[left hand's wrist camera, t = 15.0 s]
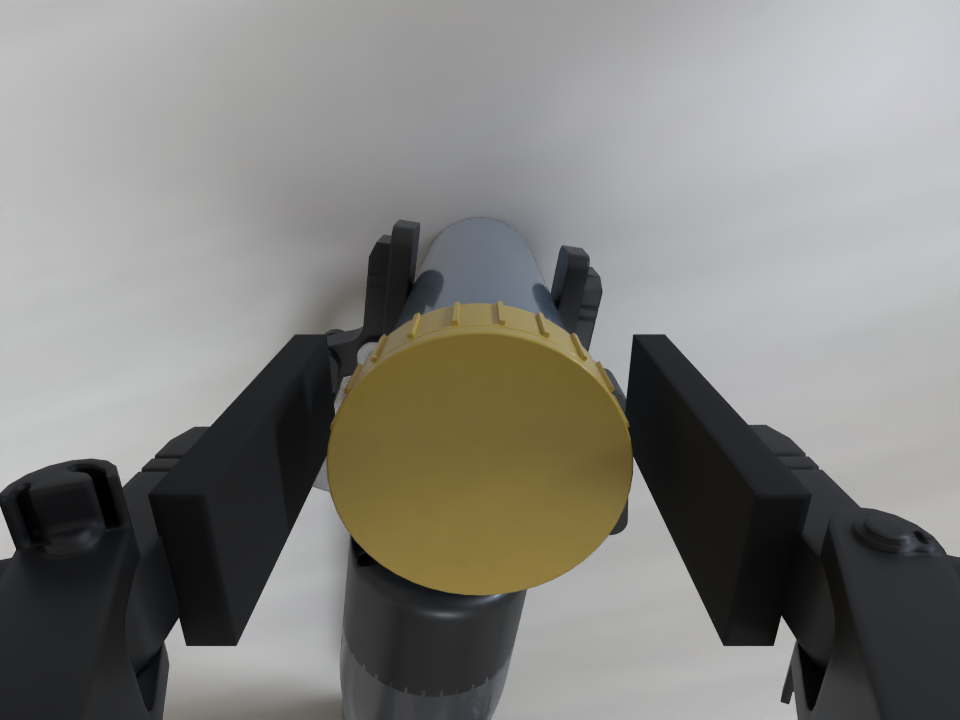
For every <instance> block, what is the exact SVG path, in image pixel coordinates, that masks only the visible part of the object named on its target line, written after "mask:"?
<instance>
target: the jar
mask: <svg viewBox="0 0 960 720" xmlns="http://www.w3.org/2000/svg"><path fill="white" fill-rule="evenodd" d="M458 301H460V304H472V303H486V304H497V301H502V302H503V305H505V306H511V307H516V308H519V309H522V310H525V311H529V312H532V313H534V314H536V315H537V313H538V312H541V313H543V315H544V317H545V319H547V320H550V321H551V322H553V323H554V324H556V325H557V326H559V327H561V328H562V329H564V330H565V331H566V329H565V326H564V324H563V322H562V320H561V317H560V315H559V313H558V310H557V308H556V306H555V304H554V301H553V299H552V297H551V295H550V292H549V290H548V288H547V286H546V283H545V281H544V279H543V276H542V274H541V272H540V270H539V267H538V265H537V263H536V261H535V258H534V256H533V254H532V251H531V249H530V247H529V246H528V244H527V242H526V241H525V240H524V238H523V237H522V236H521V235H520V234H519V233H518V232H517V231H516V230H515V229H513V228H512V227H511V226H509V225H507V224H505V223H503V222H501V221H498V220H495V219H491V218H483V217H481V218H469V219H465V220H462V221H459V222H457V223H454V224H453V225H451V226H449V227H448V228H446V229H445V230H444V231H443V232H442V233H441V234H440V235H439V236H438V237H437V238H436V239H435V241H434V242H433V243H432V245H431V247H430V249H429V251H428V253H427V256H426V258H425V260H424V262H423V265H422V267H421V269H420V271H419V274H418V276H417V278H416V280H415V283H414V285H413V287H412V289H411V292H410V294H409V296H408V299H407V301H406V303H405V305H404V308H403V310H402V312H401V314H400V317H399V319H398V321H397V323H396V326H395V328H394V330H393V331H395V330H396V329H398V328H399V327H401V326H402V325H404V324H405V323H407V322H409V321H411V320H413V317H414V315H415V314H417V313H420V315H423V314H426V313H428V312H431V311H434V310H437V309H440V308H445V307H449V306H454V302H458ZM566 332H567V331H566Z"/></svg>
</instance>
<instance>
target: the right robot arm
mask: <svg viewBox="0 0 960 720" xmlns="http://www.w3.org/2000/svg"><path fill="white" fill-rule="evenodd" d="M419 233H420V223H418V222H412V221H405V220H399V221H398V222H397V223H396V224H395V225H394V227H393V231H392V236H388V235H383V236H382V237H381V238H380V239H379V240H378V241H377V242H376V244H375V246H374V248H373V250H372V252H371V254H370V256H369V264H368V277H367V289H366V302H365V314H364V326H363V327H361V328H359V329H356V330H351V331H346V332H345V331H342V330H339V329H333V330H330V331H328V332H326V333H325V334H324V335H327V342H328V352H329V361H330V371H331V380H332V390H333V400H334V403H335V400H336V397H337V394H338V391H339V388H340V385H341V382H342V379H343V377H345V376H351V375H353V373H354V371H355V369H356V367H357V366H358V364H359V363H360V364H362V365H363V364H364V362H365V361H366V359H367V358H368V356H369V355H370V354H371V353H372V352H373V350H374V349H375V348H376V346H377V344H378V342H379V340H380V338H381V336H383V335H384V334H385V335H386V336H388V335H389V334H391V333H392V332H393V330H394V328H395V326H396V323H397V321H398V319H399V317H400V314H401V312H402V310H403V308H404V305H405V303H406V301H407V299H408V296H409V294H410V292H411V289H412V287H413V285H414V278H415V269H416V260H417V251H418V242H419ZM589 262H590V260H589V255H588V254H587V253H586V252H585V251H584V250H583V249H582V248H576V247H570V246H563V245H562V246H561V249H560V252H559V256H558V260H557V265H556V270H555V275H554V280H553V285H552V290H551V297H552V299H553V301H554V304H555V306H556V308H557V310H558V313H559V315H560V317H561V320H562V322H563V324H564V326H565V329H566V331H567V332H568V333H569V334H570V335H571V334H572V333H575V334H576V335H577V336H578V338H579V340H580V342H581V345H582V346H583V347H584V348H585V350H586V351H587V352H588V351H589V346H590V342H591V338H592V334H593V330H594V325H595V320H596V317H597V313H598V308H599V304H600V300H601V296H602V286H601V280H600V276H599V275H598V274H597V272H596V271H595V270H594V269H593V268H592V267H589ZM604 370H605V372H606V374H607V376H608V378H609V379H610V381H611V383H612V385H613V387H614V389H615V391H613V392H611V393H612V395H615V397H616V399H617V401H618V403H619V405H620V407H621V409H622V411H623V413H624V415H625V409H626V397H625V395H624V394H623V392H622V390H621V388H620V386H619V384H618V383H617V381H616V379H615V377H614V376H613V374H612V373H611V372H610V371H609V370H608V369H605V368H604ZM326 459H327V456H326ZM326 459H325V461H324V463H323V465H322V467H321V469H320V471H319V473H318V475H317V477H316V480H315V482H314V484H313V486H312V487H315V488H318V489H322V490H325V491H328V492H330V488H329V484H328V479H327V464H326ZM627 522H628V498H627V501H626V504H625V507H624V509H623V511H622V513H621V515H620V518H619V520H618V522H617V523H616V525H615V526H614V528H613V529H612V531H611V532H610V534H609V535H614V534H618V533H620V532H621V531H623V530H624V529H625V527H626V525H627ZM526 591H527V589H525V590H521V591H517V592H511V593H505V594H496V595H462V594H455V593H448V592H443V591H439V590H435V589H431V588H428V587H425V586H422V585H419V584H417V583H414V582H411V581H409V580H407V579H405V578H403V577H401V576H399V575H397V574H395V573H394V572H392V571H391V570H389V569H387V568H386V567H384V566H383V565H381V564H380V563H379V562H377V561H376V560H375V559H374V558H373V557H371V556H370V555H369V554H368V553H367V552H366V551H365V550H364V549H363V548H362V547H361V546H360V545H359V544H358V543H357V542H356V541H355V539H354V538H353V537H352V535H351V534H350V545H349V557H348V569H347V581H346V593H345V605H344V616H343V629H342V641H341V654H340V679H341V689H342V708H341V720H491V718H492V715H493V713H494V711H495V709H496V707H497V704H498V702H499V700H500V697H501V695H502V691H503V688H504V684H505V681H506V677H507V673H508V668H509V664H510V660H511V656H512V651H513V647H514V642H515V638H516V634H517V630H518V625H519V621H520V617H521V613H522V609H523V604H524V600H525V596H526Z"/></svg>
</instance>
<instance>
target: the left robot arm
mask: <svg viewBox="0 0 960 720" xmlns="http://www.w3.org/2000/svg"><path fill="white" fill-rule="evenodd" d="M625 416H626V418H627V420H628V422H629V426H630V427H628V431H629V434H630V438H631V444H632V451H633V457H634V459H635V461H636V463H637V465H638V467H639V469H640V471H641V473H642V475H643V478H644V480H645V482H646V484H647V486H648V488H649V490H650V492H651V494H652V496H653V499H654V501H655V503H656V505H657V507H658V509H659V511H660V513H661V515H662V517H663V520H664V522H665V524H666V526H667V528H668V530H669V532H670V534H671V536H672V538H673V541H674V543H675V545H676V547H677V549H678V551H679V553H680V555H681V557H682V559H683V562H684V564H685V566H686V568H687V570H688V572H689V574H690V576H691V578H692V580H693V583H694V585H695V587H696V589H697V591H698V593H699V595H700V597H701V599H702V601H703V604H704V606H705V608H706V610H707V612H708V614H709V616H710V618H711V620H712V622H713V625H714V627H715V629H716V631H717V633H718V635H719V637H720V639H721V641H722V643H723V646H774V642H775V638H776V634H777V630H778V627H779V623H780V619H781V615H782V617H783V618H784V620H785V622H786V623H787V625H788V626H789V628H790V629H791V631H792V633H793V634H794V636H795V637H796V643H795V646H794V650H793V654H792V657H791V661H790V665H789V668H788V672H787V676H786V679H785V683H784V687H783V691H782V697H781V702H783V703H786V704H789V703H790V699H791V695H792V692H793V691H794V693H795V701H796V709H797V717H798V720H960V557H954V556H950V555H947V554H946V552H945V550H944V549H943V547H942V546H941V545H940V544H939V543H938V541H937V540H936V539H935V538H934V537H933V536H932V535H931V534H929V533H928V532H926V531H925V530H923V529H922V528H920V527H919V526H917V525H916V524H914V523H912V522H909V521H907V520H905V519H903V518H901V517H898V516H896V515H893V514H890V513H886V512H883V511H879V510H876V509H869V508H861V507H859V506H858V505H857V504H856V503H855V502H854V501H853V500H852V499H851V498H850V497H849V496H848V495H847V494H846V493H845V492H844V491H843V490H842V489H841V488H840V487H839V486H838V485H837V484H836V483H835V482H834V481H833V480H832V479H831V478H830V477H829V476H828V475H827V474H826V473H825V472H824V471H823V470H819V466H818V465H817V464H816V463H815V462H814V461H813V460H812V459H811V458H810V457H806V455H805V453H804V452H803V451H802V450H801V449H800V448H799V447H798V446H797V445H796V444H795V443H794V442H793V441H792V440H791V439H790V438H789V437H787V436H785V435H783V434H781V433H780V432H778V431H776V430H774V429H772V428H770V427H769V426H767V425H748V424H747V423H746V422H745V421H744V420H743V419H742V418H741V417H740V416H739V415H738V413H737V412H736V411H735V410H734V409H733V408H732V407H731V406H730V405H729V404H728V403H727V402H726V400H725V399H724V398H723V397H722V396H721V395H720V394H719V393H718V392H717V391H716V390H715V389H714V387H713V386H712V385H711V384H710V383H709V382H708V381H707V380H706V379H705V378H704V377H703V376H702V374H701V373H700V372H699V371H698V370H697V369H696V368H695V367H694V366H693V365H692V364H691V363H690V361H689V360H688V359H687V358H686V357H685V356H684V355H683V354H682V353H681V352H680V351H679V349H678V348H677V347H676V346H675V345H674V344H673V343H672V342H671V341H670V340H669V339H668V338H667V336H666V335H633V342H632V352H631V361H630V371H629V380H628V390H627V399H626V409H625ZM334 417H335V409H334V400H333V390H332V380H331V371H330V361H329V352H328V342H327V335H294V336H293V338H292V339H291V340H290V341H289V342H288V343H287V344H286V345H285V346H284V347H283V348H282V349H281V351H280V352H279V353H278V354H277V355H276V356H275V357H274V358H273V359H272V360H271V361H270V362H269V364H268V365H267V366H266V367H265V368H264V369H263V370H262V371H261V372H260V373H259V374H258V376H257V377H256V378H255V379H254V380H253V381H252V382H251V383H250V384H249V385H248V386H247V387H246V389H245V390H244V391H243V392H242V393H241V394H240V395H239V396H238V397H237V398H236V399H235V400H234V402H233V403H232V404H231V405H230V406H229V407H228V408H227V409H226V410H225V411H224V412H223V413H222V415H221V416H220V417H219V418H218V419H217V420H216V421H215V422H214V423H213V424H212V425H211V426H210V427H193V428H192V429H190V430H188V431H186V432H184V433H183V434H181V435H179V436H177V437H175V438H173V439H172V440H170V441H169V442H168V443H167V444H166V445H165V446H164V447H163V448H162V449H161V450H160V451H159V452H158V453H157V454H156V455H155V459H151V460H150V461H149V462H148V463H147V464H146V465H145V466H144V467H143V468H142V472H138V473H137V474H136V475H135V476H134V477H133V478H132V479H131V480H130V481H129V482H128V483H127V484H126V485H125V486H124V487H123V488H122V485H121V482H120V478H119V474H118V471H117V467H116V466H115V465H113V464H112V463H110V462H109V461H106V460H98V459H82V460H71V461H67V462H63V463H59V464H55V465H51V466H47V467H45V468H42V469H40V470H37V471H35V472H32V473H29V474H27V475H25V476H23V477H22V478H20V479H18V480H17V481H15V482H13V483H11V484H10V485H8V486H7V487H6V488H5V489H4V490H3V491H2V492H1V493H0V507H1V510H2V512H3V515H4V518H5V520H6V523H7V526H8V528H9V531H10V534H11V537H12V539H13V542H14V545H15V547H16V551H15V553H14V555H13V557H12V558H9V559H4V560H0V720H162V719H163V711H164V703H165V695H166V687H167V679H168V671H169V660H168V654H167V650H166V646H165V643H164V641H165V639H166V637H167V636H168V634H169V633H170V631H171V629H172V628H173V626H174V625H175V623H176V621H177V620H178V618H179V619H180V623H181V627H182V631H183V634H184V638H185V642H186V646H236V645H237V643H238V641H239V639H240V637H241V635H242V633H243V631H244V629H245V627H246V624H247V622H248V620H249V618H250V616H251V614H252V612H253V610H254V608H255V606H256V603H257V601H258V599H259V597H260V595H261V593H262V591H263V589H264V587H265V585H266V582H267V580H268V578H269V576H270V574H271V572H272V570H273V568H274V566H275V564H276V561H277V559H278V557H279V555H280V553H281V551H282V549H283V547H284V545H285V543H286V540H287V538H288V536H289V534H290V532H291V530H292V528H293V526H294V524H295V522H296V519H297V517H298V515H299V513H300V511H301V509H302V507H303V505H304V503H305V501H306V498H307V496H308V494H309V492H310V490H311V488H312V486H313V484H314V482H315V480H316V477H317V475H318V473H319V471H320V469H321V467H322V465H323V463H324V461H325V459H326V456H327V448H328V441H329V437H330V433H331V429H330V425H331V423H332V421H333V419H334Z"/></svg>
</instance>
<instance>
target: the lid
mask: <svg viewBox="0 0 960 720" xmlns="http://www.w3.org/2000/svg"><path fill="white" fill-rule="evenodd" d="M613 391H615V389H614V387H613V385H612V383H611V381H610V379H609V378H608V376H607V374H606V372H605V370H604V368H603V366H602V364H601V363H600V361H599V362H597V363H595V361H594V360H593V358H592V357H591V355H590V354H589V353H588V352H587V351H586V350H585V348H584V347H583V346H582V345H581V342H580V340H579V338H578V336H577V335H576V334H575V333H572V334H571V335H570V334H569V333H568V332H566V331H565V330H564V329H562V328H561V327H559V326H557V325H556V324H554V323H553V322H551V321H550V320H547V319H545V317H544V315H543V313H541V312H538V313H537V315H536V314H534V313H532V312H529V311H525V310H522V309H519V308H516V307H511V306H505V305H503V302H502V301H497V304H486V303H472V304H460V301H458V302H454V306H449V307H445V308H440V309H437V310H434V311H431V312H428V313H426V314H423V315H420V313H417V314H415V315H414V317H413V320H411V321H409V322H407V323H405V324H404V325H402V326H401V327H399V328H398V329H396V330H395V331H393V332H392V333H391V334H389V335H388V336H386V335H385V334H384V335H383V336H381V338H380V340H379V342H378V344H377V346H376V348H375V349H374V350H373V352H372V353H371V354H370V355H369V356H368V358H367V359H366V361H365V362H364V364H363V365H362V364H360V363H359V364H358V366H357V367H356V369H355V371H354V373H353V375H352V377H351V379H350V381H349V382H348V384H347V386H346V388H345V390H344V393H346V394H347V396H346V397H345V398H344V400H343V402H342V403H341V405H340V407H339V409H338V411H337V413H336V415H335V417H334V419H333V421H332V423H331V425H330V429H331V433H330V437H329V441H328V448H327V459H326V464H327V479H328V484H329V488H330V493H331V497H332V499H333V502H334V505H335V507H336V510H337V513H338V514H339V516H340V518H341V520H342V522H343V524H344V525H345V527H346V529H347V530H348V531H349V533H350V534H351V535H352V537H353V538H354V539H355V541H356V542H357V543H358V544H359V545H360V546H361V547H362V548H363V549H364V550H365V551H366V552H367V553H368V554H369V555H370V556H371V557H373V558H374V559H375V560H376V561H377V562H379V563H380V564H381V565H383V566H384V567H386V568H387V569H389V570H391V571H392V572H394V573H395V574H397V575H399V576H401V577H403V578H405V579H407V580H409V581H411V582H414V583H417V584H419V585H422V586H425V587H428V588H431V589H435V590H439V591H443V592H448V593H455V594H462V595H496V594H505V593H511V592H517V591H521V590H525V589H528V588H532V587H535V586H538V585H541V584H543V583H546V582H548V581H551V580H553V579H555V578H557V577H559V576H560V575H562V574H564V573H566V572H568V571H569V570H571V569H572V568H574V567H575V566H577V565H578V564H580V563H581V562H583V561H584V560H585V559H586V558H587V557H588V556H589V555H591V554H592V553H593V552H594V551H595V550H596V549H597V548H598V547H599V546H600V545H601V543H602V542H603V541H604V540H605V539H606V538H607V537H608V535H609V534H610V532H611V531H612V529H613V528H614V526H615V525H616V523H617V522H618V520H619V518H620V515H621V513H622V511H623V509H624V507H625V504H626V501H627V498H628V495H629V492H630V488H631V482H632V476H633V451H632V444H631V438H630V434H629V431H628V427H630V426H629V422H628V420H627V418H626V416H625V415H624V413H623V411H622V409H621V407H620V405H619V403H618V401H617V399H616V397H615V395H612V393H611V392H613Z"/></svg>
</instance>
